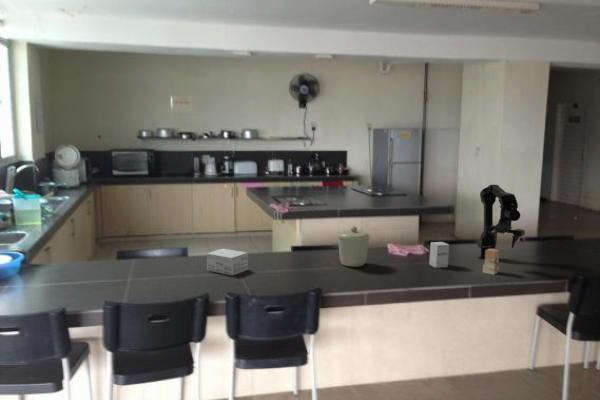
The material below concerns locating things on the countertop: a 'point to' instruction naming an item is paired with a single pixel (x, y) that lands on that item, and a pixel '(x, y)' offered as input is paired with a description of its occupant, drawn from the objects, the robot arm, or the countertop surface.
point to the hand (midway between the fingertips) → (503, 246)
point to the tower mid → (491, 262)
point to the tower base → (490, 269)
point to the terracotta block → (492, 253)
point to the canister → (353, 247)
